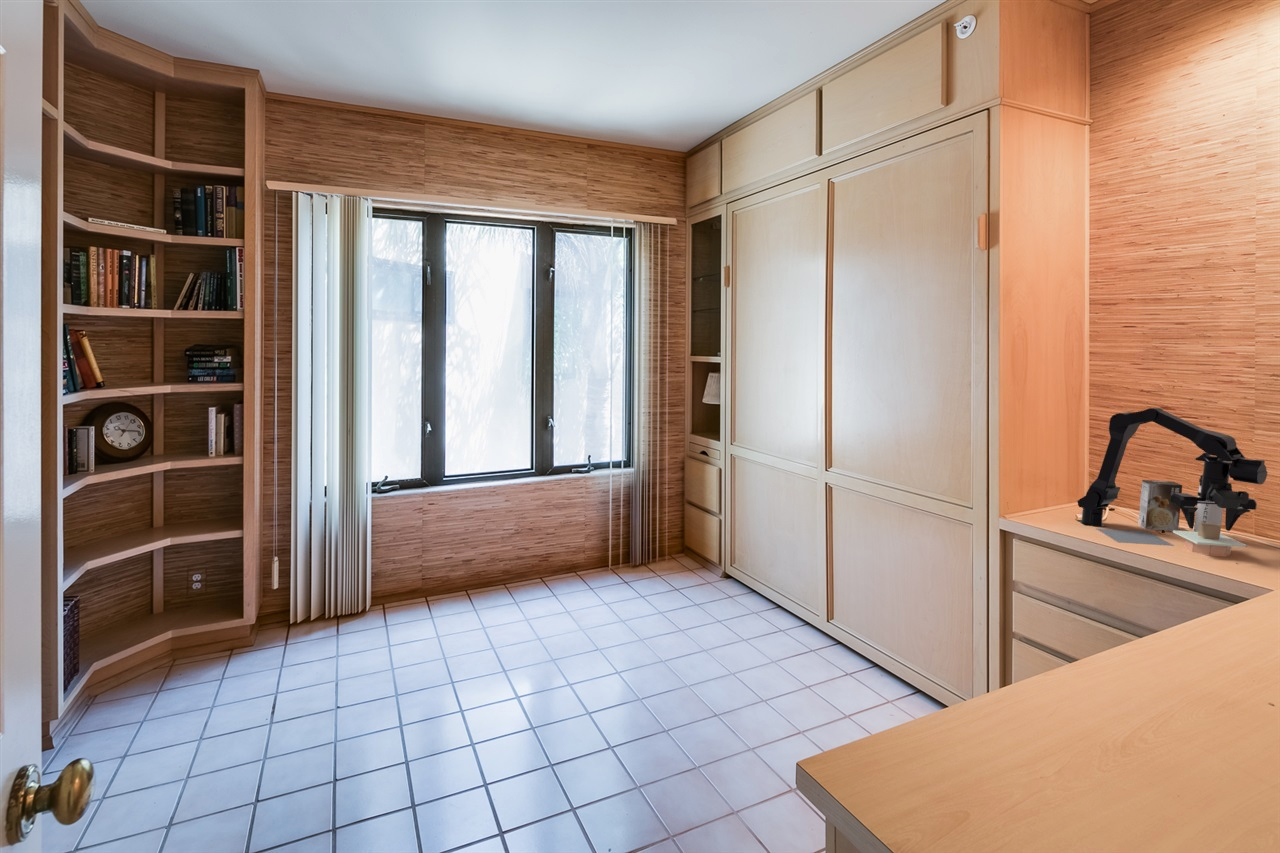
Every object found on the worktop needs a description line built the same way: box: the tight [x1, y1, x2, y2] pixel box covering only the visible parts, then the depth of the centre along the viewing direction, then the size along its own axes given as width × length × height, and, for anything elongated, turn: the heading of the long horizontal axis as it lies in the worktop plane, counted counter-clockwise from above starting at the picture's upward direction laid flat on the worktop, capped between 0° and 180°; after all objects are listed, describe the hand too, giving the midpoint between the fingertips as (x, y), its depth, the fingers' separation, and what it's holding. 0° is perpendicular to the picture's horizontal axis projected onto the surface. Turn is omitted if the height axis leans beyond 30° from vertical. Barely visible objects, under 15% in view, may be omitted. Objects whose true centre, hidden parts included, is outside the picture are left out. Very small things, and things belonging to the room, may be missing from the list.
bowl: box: [1184, 538, 1232, 558], centre depth 188 cm, size 10×10×4 cm
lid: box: [1172, 522, 1248, 548], centre depth 187 cm, size 12×12×5 cm
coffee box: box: [1137, 479, 1183, 532], centre depth 210 cm, size 9×6×16 cm
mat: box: [1096, 528, 1175, 547], centre depth 202 cm, size 15×15×1 cm
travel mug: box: [1193, 473, 1224, 533], centre depth 201 cm, size 6×7×20 cm
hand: (1209, 529), depth 187 cm, fingers open, 9 cm apart
